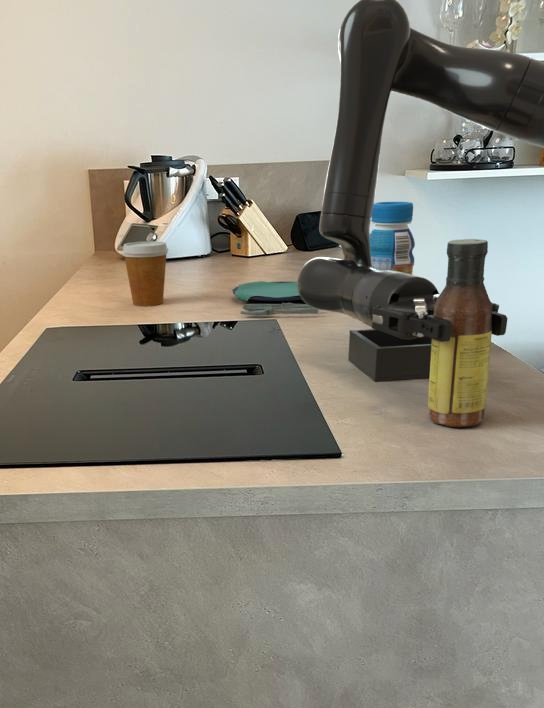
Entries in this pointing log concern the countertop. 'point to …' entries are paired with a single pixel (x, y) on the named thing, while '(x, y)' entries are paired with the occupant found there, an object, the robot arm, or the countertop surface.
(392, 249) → the beverage bottle
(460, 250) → the sauce bottle
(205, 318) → the countertop surface
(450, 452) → the countertop surface
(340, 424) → the countertop surface
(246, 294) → the cutlery set
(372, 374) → the box
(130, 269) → the disposable coffee cup
